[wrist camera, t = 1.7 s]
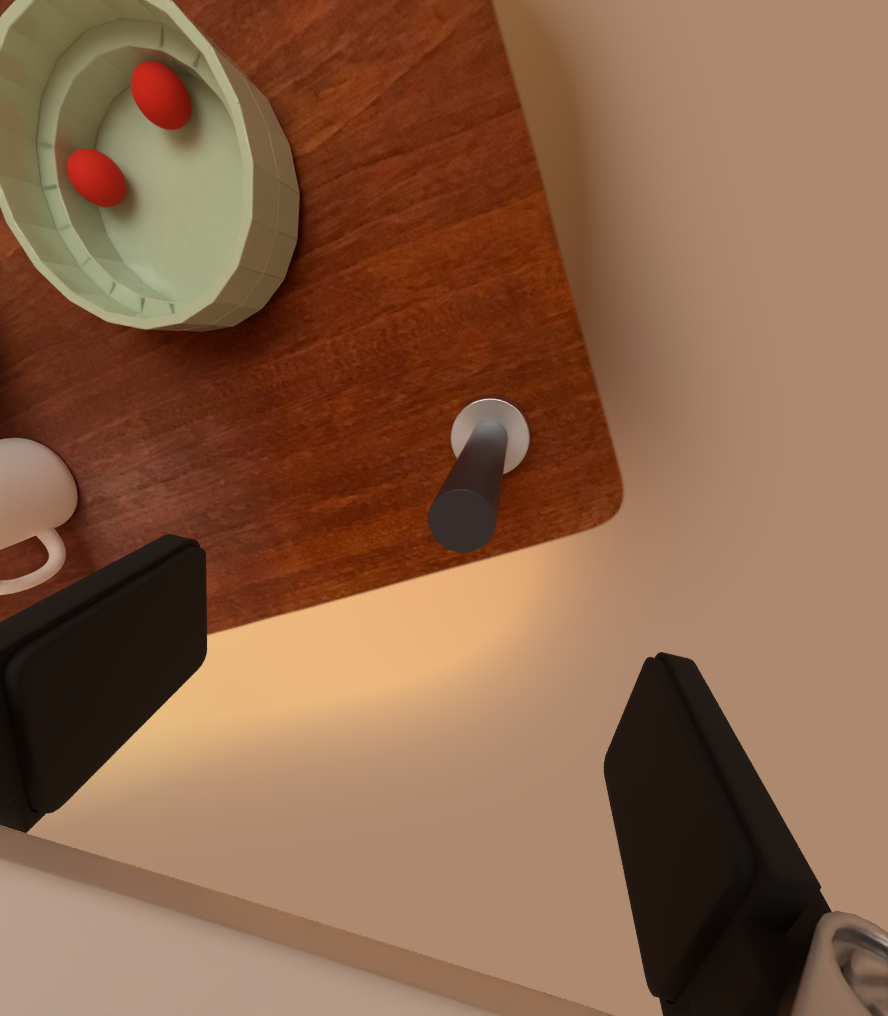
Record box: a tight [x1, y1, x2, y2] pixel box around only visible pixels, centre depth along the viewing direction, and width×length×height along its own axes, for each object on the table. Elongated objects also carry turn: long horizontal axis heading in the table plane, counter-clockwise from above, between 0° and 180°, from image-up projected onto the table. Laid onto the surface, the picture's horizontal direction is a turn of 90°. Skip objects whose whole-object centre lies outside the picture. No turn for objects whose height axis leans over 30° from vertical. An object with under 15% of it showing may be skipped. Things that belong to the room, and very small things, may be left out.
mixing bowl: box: [0, 0, 300, 332], centre depth 27 cm, size 16×16×6 cm
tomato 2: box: [131, 61, 191, 130], centre depth 27 cm, size 3×3×3 cm
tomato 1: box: [67, 149, 127, 207], centre depth 29 cm, size 3×3×3 cm
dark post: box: [428, 394, 530, 552], centre depth 24 cm, size 5×5×18 cm
